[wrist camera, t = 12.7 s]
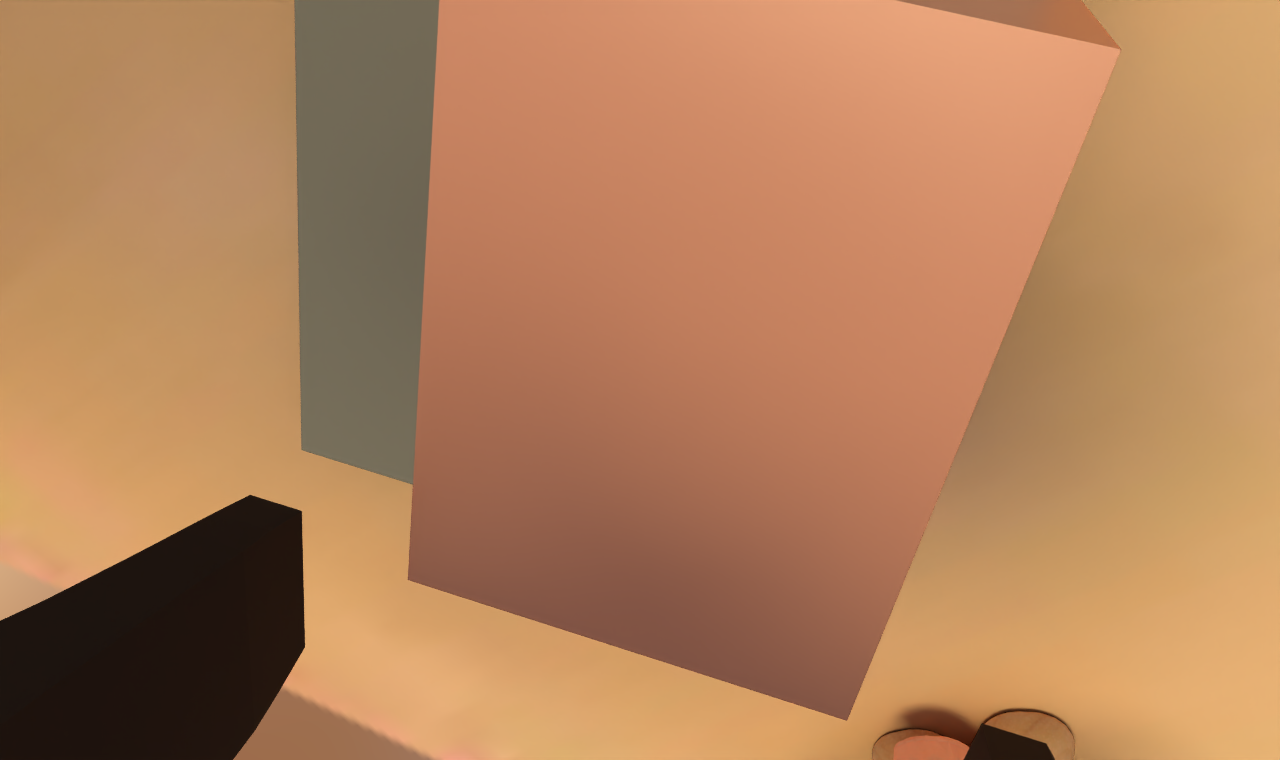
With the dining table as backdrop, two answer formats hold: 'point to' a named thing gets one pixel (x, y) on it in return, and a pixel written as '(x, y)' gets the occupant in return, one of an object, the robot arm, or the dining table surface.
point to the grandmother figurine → (931, 756)
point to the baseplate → (363, 223)
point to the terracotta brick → (724, 306)
